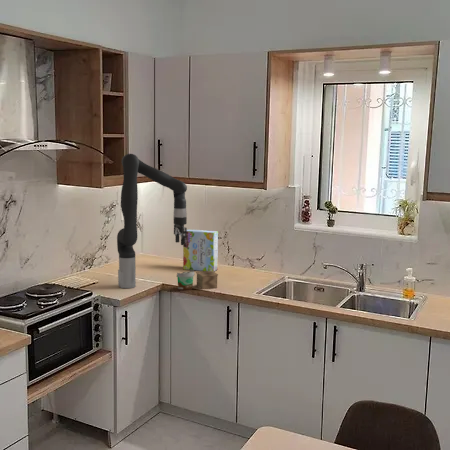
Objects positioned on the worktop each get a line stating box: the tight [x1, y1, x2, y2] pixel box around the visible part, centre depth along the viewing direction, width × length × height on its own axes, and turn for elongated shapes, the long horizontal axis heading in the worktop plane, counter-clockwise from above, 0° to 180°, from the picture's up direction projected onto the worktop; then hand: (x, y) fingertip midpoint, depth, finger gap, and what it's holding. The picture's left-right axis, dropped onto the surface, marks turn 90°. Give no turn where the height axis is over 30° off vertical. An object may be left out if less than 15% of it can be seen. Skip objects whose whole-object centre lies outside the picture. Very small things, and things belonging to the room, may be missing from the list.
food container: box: [176, 269, 196, 292], centre depth 319 cm, size 12×6×10 cm, turn 143°
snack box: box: [182, 228, 219, 272], centre depth 367 cm, size 22×9×26 cm, turn 70°
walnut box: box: [195, 271, 219, 290], centre depth 325 cm, size 10×10×8 cm
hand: (180, 243), depth 329 cm, fingers open, 8 cm apart
